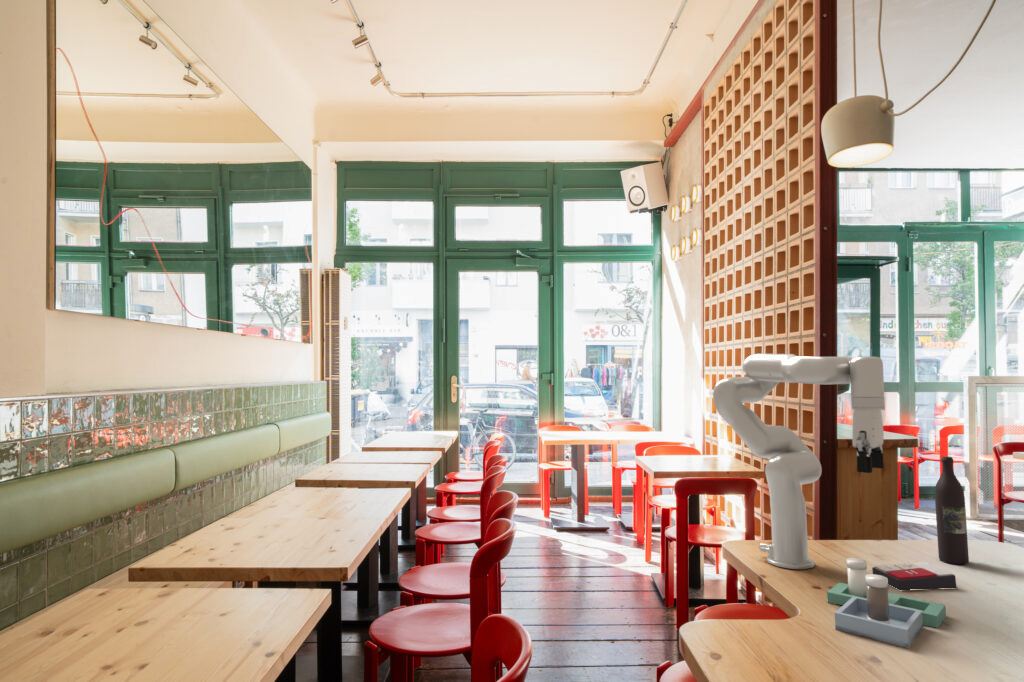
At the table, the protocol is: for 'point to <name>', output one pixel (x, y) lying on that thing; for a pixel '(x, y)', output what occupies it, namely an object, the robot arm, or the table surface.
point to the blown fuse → (877, 598)
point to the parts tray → (897, 632)
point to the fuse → (856, 577)
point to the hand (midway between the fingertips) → (870, 470)
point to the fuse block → (930, 610)
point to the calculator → (915, 576)
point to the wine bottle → (951, 516)
